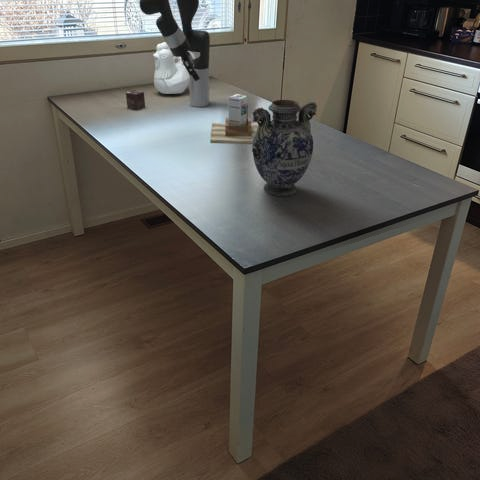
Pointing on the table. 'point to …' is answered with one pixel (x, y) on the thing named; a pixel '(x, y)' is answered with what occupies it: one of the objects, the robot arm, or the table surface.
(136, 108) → the box
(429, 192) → the table surface
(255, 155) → the decorative vase
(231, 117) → the syrup box
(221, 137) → the socket board
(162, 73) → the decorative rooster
